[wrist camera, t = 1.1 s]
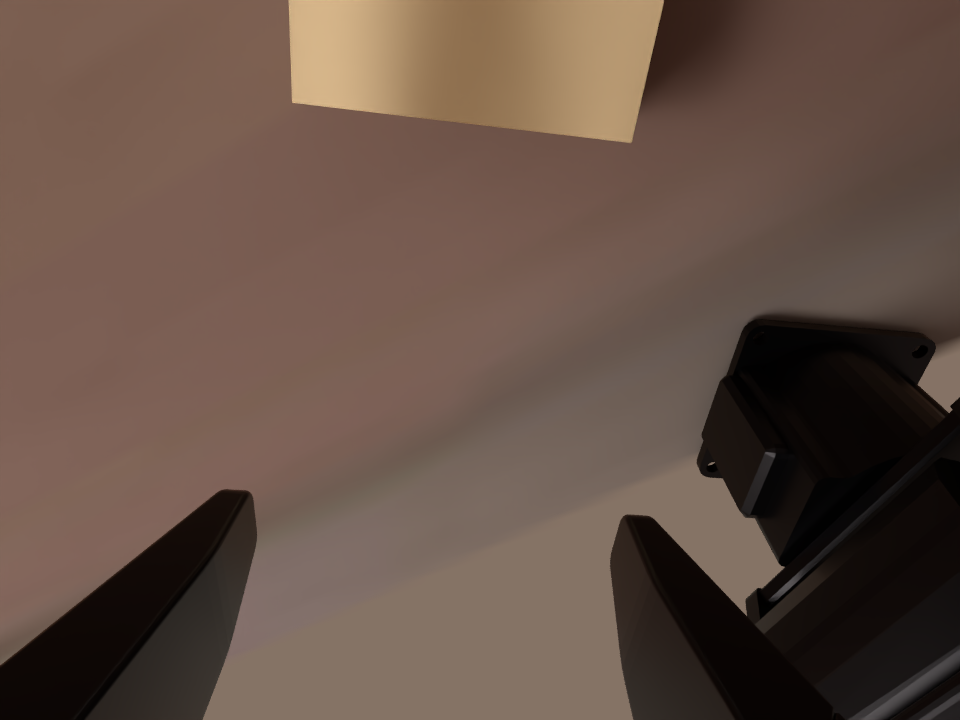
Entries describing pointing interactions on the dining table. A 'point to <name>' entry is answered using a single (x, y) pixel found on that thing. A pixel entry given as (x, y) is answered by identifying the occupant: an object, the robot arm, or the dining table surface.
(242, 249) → the dining table surface
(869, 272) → the dining table surface
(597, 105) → the oak block
